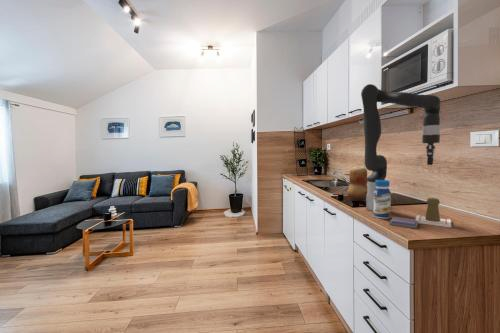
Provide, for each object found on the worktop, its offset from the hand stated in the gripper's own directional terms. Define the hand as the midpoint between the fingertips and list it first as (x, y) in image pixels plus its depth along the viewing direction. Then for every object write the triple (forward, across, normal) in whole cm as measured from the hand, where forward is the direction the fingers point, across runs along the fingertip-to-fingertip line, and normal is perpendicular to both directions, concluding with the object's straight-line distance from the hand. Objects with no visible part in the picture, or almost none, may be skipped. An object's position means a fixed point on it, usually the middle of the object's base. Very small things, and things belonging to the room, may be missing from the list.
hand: (430, 164), depth 130 cm
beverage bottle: (+28, +17, -20) cm, 39 cm away
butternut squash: (+28, -17, -41) cm, 53 cm away
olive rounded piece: (+27, +13, +2) cm, 30 cm away
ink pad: (+28, +25, -9) cm, 39 cm away
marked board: (+28, +13, +2) cm, 31 cm away
